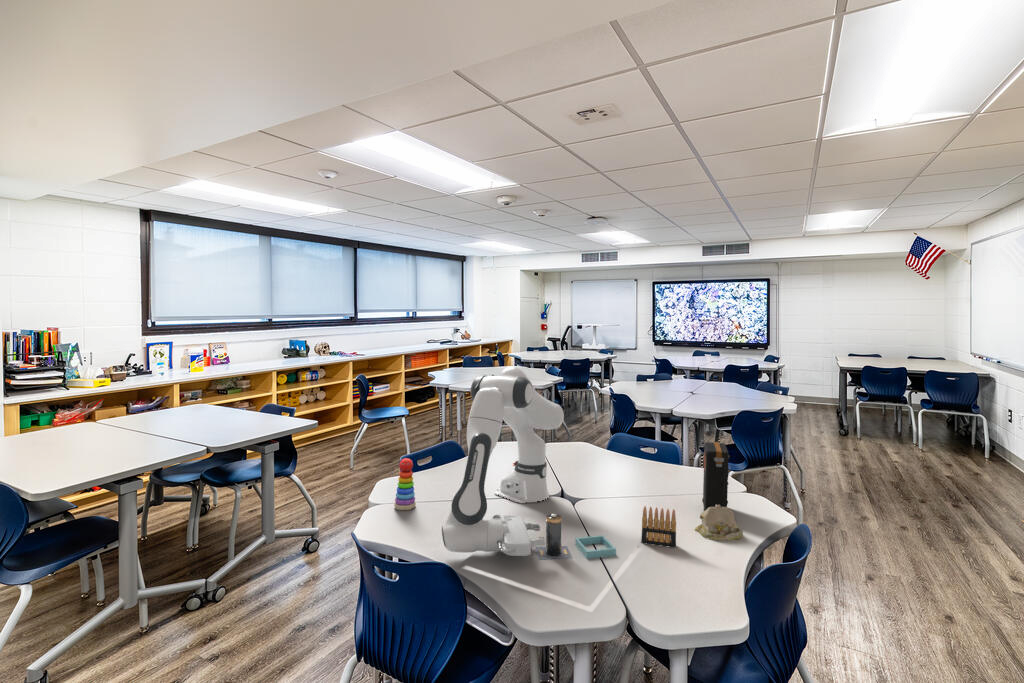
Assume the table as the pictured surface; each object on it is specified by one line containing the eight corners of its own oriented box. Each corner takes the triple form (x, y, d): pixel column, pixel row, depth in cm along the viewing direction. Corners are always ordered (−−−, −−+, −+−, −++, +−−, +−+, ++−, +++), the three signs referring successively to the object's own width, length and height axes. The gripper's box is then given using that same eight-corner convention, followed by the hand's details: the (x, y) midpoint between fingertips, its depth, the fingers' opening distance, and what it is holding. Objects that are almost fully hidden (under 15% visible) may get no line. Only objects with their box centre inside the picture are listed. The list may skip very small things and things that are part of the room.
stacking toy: (398, 512, 179) (398, 462, 179) (391, 505, 186) (391, 457, 185) (418, 508, 184) (418, 459, 183) (411, 501, 190) (410, 454, 190)
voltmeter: (729, 521, 174) (731, 452, 172) (703, 518, 176) (705, 450, 175) (725, 506, 188) (727, 442, 187) (701, 503, 191) (703, 440, 190)
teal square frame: (586, 561, 144) (586, 552, 144) (575, 547, 153) (575, 538, 153) (615, 558, 146) (615, 548, 146) (602, 544, 155) (603, 535, 155)
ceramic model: (701, 540, 159) (702, 510, 158) (691, 526, 170) (692, 498, 170) (746, 542, 158) (747, 512, 157) (733, 527, 169) (733, 499, 169)
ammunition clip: (676, 545, 155) (676, 508, 155) (676, 547, 153) (676, 510, 153) (641, 540, 158) (642, 504, 158) (641, 543, 156) (641, 506, 156)
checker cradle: (539, 562, 143) (539, 559, 143) (535, 550, 151) (535, 546, 151) (572, 561, 144) (572, 557, 144) (566, 548, 152) (566, 545, 152)
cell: (543, 553, 147) (543, 515, 146) (550, 547, 151) (550, 510, 150) (556, 557, 144) (557, 518, 144) (563, 551, 148) (564, 513, 148)
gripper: (498, 541, 135) (547, 539, 137) (494, 511, 156) (537, 510, 157) (498, 563, 136) (547, 561, 137) (494, 531, 156) (537, 529, 157)
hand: (542, 533), depth 147 cm, fingers open, 8 cm apart
